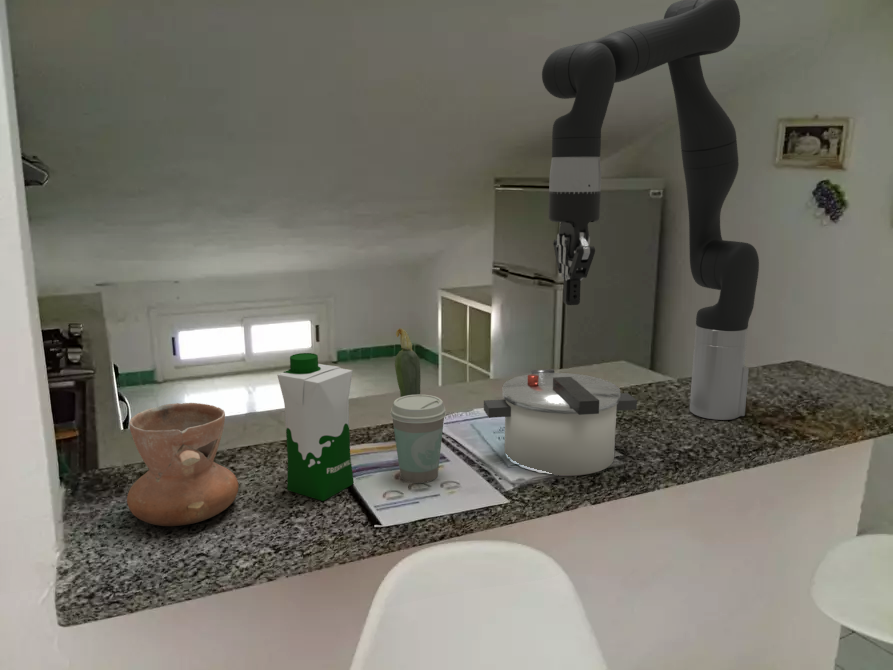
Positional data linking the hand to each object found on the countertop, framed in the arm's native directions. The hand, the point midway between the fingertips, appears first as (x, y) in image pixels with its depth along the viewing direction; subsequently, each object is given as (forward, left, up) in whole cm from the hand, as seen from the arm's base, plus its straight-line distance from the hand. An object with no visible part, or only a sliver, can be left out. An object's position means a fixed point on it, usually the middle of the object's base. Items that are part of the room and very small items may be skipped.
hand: (571, 304), depth 110 cm
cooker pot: (0, -4, -26) cm, 26 cm away
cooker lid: (0, -3, -16) cm, 16 cm away
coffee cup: (+24, +1, -26) cm, 36 cm away
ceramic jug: (+58, +7, -26) cm, 64 cm away
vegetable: (+24, -15, -26) cm, 39 cm away
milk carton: (+39, +3, -26) cm, 47 cm away
